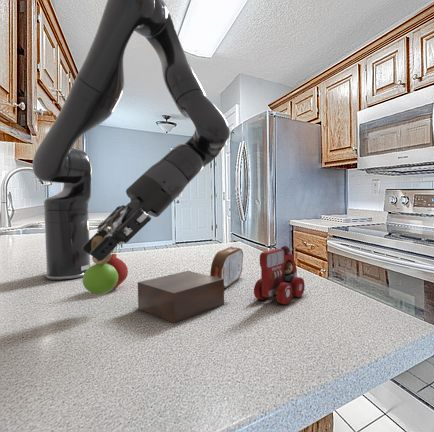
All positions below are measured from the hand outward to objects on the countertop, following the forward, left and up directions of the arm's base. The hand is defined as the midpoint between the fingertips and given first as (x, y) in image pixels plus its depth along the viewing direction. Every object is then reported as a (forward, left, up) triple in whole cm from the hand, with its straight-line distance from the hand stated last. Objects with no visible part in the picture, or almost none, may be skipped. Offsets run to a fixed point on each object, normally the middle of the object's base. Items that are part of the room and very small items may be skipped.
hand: (90, 254), depth 53 cm
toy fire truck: (+21, +27, -11) cm, 36 cm away
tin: (+5, +28, -11) cm, 30 cm away
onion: (-13, +10, -11) cm, 19 cm away
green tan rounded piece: (0, +2, -7) cm, 8 cm away
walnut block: (+9, +12, -11) cm, 18 cm away
